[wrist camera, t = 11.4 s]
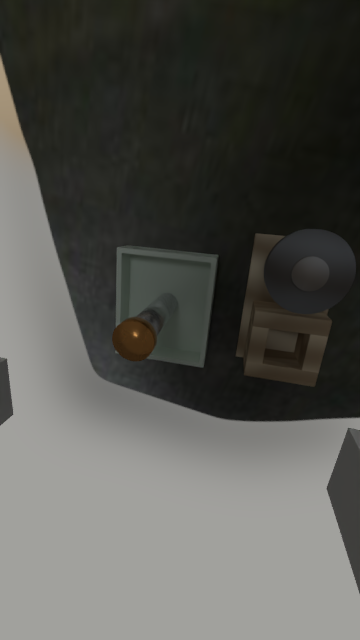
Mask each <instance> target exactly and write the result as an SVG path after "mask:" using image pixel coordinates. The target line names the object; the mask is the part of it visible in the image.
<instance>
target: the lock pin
mask: <svg viewBox="0 0 360 640" xmlns="http://www.w3.org/2000/svg"><path fill="white" fill-rule="evenodd" d="M177 308H178V301H177V299H176V298H175V296H173V295H172V294H170V293H163V294H161V295H160V296H158V297H157V298H156V299H155V300H154V301H153V302H152V303H151V304H150V305H148V306H147V307H146V308H145V309H144V310H143V311H142V312H141V313H140V314H138V315H137V316H136V317H131V318H127V319H125V320H124V321H123V322H122V323H120V324H119V325H118V326H117V327H116V328H115V330H114V332H113V336H112V341H113V345H114V347H115V349H116V351H117V352H118V353H119V354H120V355H121V356H122V357H123V358H125V359H127V360H130V361H141V360H144V359H146V358H147V357H148V356H149V355H150V354H151V352H152V351H153V350H154V348H155V346H156V343H157V335H158V334H159V333H160V331H161V330H162V329H163V327H164V326H165V325H166V323H167V322H168V321H169V319H170V318H171V317H172V315H173V314H174V313H175V311H176V310H177Z"/></svg>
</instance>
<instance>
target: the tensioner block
mask: <svg viewBox="0 0 360 640" xmlns="http://www.w3.org/2000/svg"><path fill="white" fill-rule="evenodd" d="M355 274H356V261H355V257H354V254H353V252H352V250H351V248H350V246H349V245H348V244H347V242H346V241H345V240H344V239H342V238H341V237H340V236H338V235H337V234H335V233H332V232H330V231H327V230H321V229H303V230H299V231H296V232H293V233H291V234H289V235H287V236H279V235H269V234H258V233H255V238H254V244H253V250H252V257H251V263H250V269H249V275H248V281H247V288H246V294H245V300H244V306H243V312H242V318H241V325H240V331H239V337H238V343H237V349H236V356H237V357H243V362H244V375H246V376H252V377H258V378H264V379H270V380H276V381H282V382H288V383H294V384H300V385H306V386H312V387H315V384H316V380H317V376H318V373H319V369H320V365H321V361H322V358H323V354H324V350H325V346H326V343H327V339H328V335H329V331H330V328H331V324H332V320H331V319H330V318H329V317H328V316H327V314H328V310H329V308H331V307H333V306H334V305H336V304H337V303H338V302H340V301H341V300H342V299H343V298H344V297H345V295H346V294H347V293H348V291H349V290H350V288H351V286H352V284H353V281H354V278H355Z"/></svg>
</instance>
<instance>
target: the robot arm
mask: <svg viewBox="0 0 360 640" xmlns="http://www.w3.org/2000/svg"><path fill="white" fill-rule="evenodd" d="M12 415H13V408H12V399H11V391H10V383H9V374H8V365H7V359H5V358H0V425H1V424H3V423H4V422H5V421H6V420H7V419H8V418H10V417H11V416H12ZM327 491H328V494H329V497H330V500H331V504H332V507H333V510H334V513H335V516H336V519H337V522H338V526H339V529H340V532H341V535H342V538H343V542H344V545H345V548H346V551H347V554H348V558H349V560H350V564H351V567H352V570H353V574H354V577H355V580H356V583H357V586H358V590H359V593H360V430H356V429H351V428H348V431H347V433H346V436H345V439H344V442H343V444H342V447H341V450H340V453H339V455H338V458H337V461H336V464H335V467H334V469H333V472H332V475H331V478H330V480H329V483H328V486H327Z"/></svg>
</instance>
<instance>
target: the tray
mask: <svg viewBox="0 0 360 640" xmlns="http://www.w3.org/2000/svg"><path fill="white" fill-rule="evenodd" d="M218 259H219V255H215V254H206V253H196V252H187V251H177V250H168V249H159V248H149V247H140V246H130V245H127V246H122V247H117V279H116V327H117V326H118V325H119V324H120V323H122V322H123V321H124V320H125V319H127V318H131V317H136V316H137V315H138V314H140V313H141V312H142V311H143V310H144V309H145V308H146V307H147V306H148V305H150V304H151V303H152V302H153V301H154V300H155V299H156V298H157V297H158V296H160V295H161V294H163V293H170V294H172V295H173V296H175V298H176V299H177V301H178V308H177V310H176V311H175V313H174V314H173V315H172V317H171V318H170V319H169V321H168V322H167V323H166V325H165V326H164V327H163V329H162V330H161V331H160V333H159V334H158V335H157V343H156V346H155V348H154V350H153V351H152V352H151V354H150V355H149V356H148V357H147V359H153V360H159V361H165V362H171V363H177V364H183V365H189V366H195V367H201V368H203V367H204V363H205V359H206V354H207V346H208V338H209V330H210V322H211V315H212V307H213V299H214V291H215V283H216V275H217V267H218ZM115 353H116V354H119V353H118V352H117V351H116V349H115Z"/></svg>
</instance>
